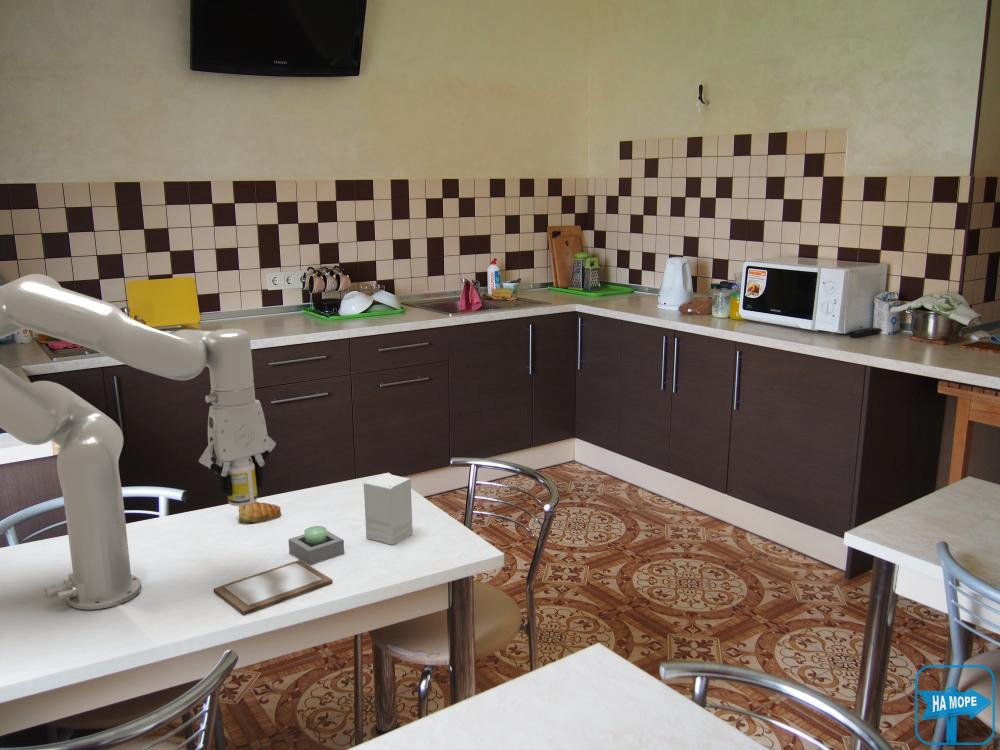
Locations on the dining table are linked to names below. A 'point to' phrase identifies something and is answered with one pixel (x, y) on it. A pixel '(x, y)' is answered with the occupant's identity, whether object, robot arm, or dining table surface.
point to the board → (272, 587)
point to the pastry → (258, 512)
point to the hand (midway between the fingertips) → (241, 489)
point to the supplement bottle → (242, 482)
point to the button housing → (316, 548)
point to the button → (315, 534)
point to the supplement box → (388, 508)
